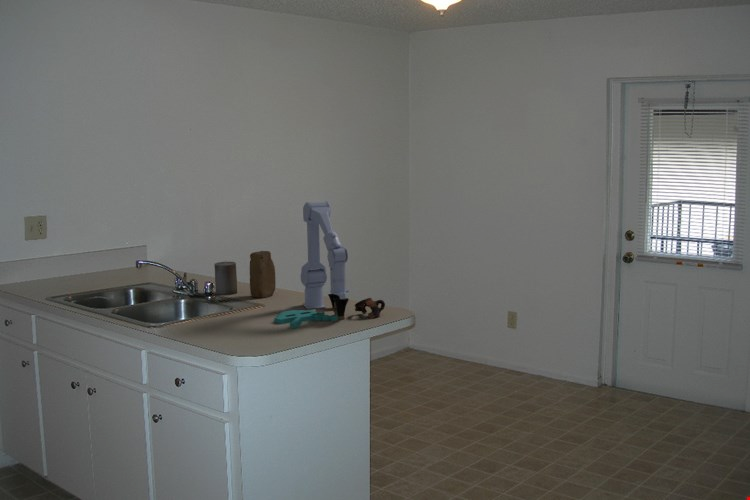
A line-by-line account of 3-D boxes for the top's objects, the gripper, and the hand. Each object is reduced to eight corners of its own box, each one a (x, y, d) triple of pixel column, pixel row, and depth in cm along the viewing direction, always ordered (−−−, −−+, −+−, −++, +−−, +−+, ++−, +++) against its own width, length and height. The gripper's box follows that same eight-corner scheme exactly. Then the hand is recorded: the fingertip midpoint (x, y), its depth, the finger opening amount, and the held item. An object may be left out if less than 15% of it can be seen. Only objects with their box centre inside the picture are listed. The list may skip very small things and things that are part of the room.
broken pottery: (364, 321, 294) (355, 302, 296) (358, 327, 303) (349, 308, 305) (391, 310, 299) (382, 291, 300) (385, 316, 307) (376, 297, 309)
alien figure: (337, 321, 295) (309, 312, 310) (337, 315, 295) (308, 307, 310) (293, 329, 283) (265, 320, 298) (292, 323, 282) (265, 314, 298)
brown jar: (259, 299, 336) (258, 253, 333) (248, 297, 340) (246, 252, 338) (278, 295, 344) (276, 250, 341) (266, 293, 349) (265, 249, 346)
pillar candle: (238, 290, 356) (236, 258, 354) (236, 294, 346) (235, 261, 344) (216, 291, 355) (214, 259, 353) (214, 295, 345) (212, 262, 343)
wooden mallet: (315, 319, 297) (315, 303, 296) (342, 317, 300) (341, 301, 299) (317, 321, 293) (317, 306, 292) (344, 319, 296) (344, 303, 295)
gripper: (352, 281, 290) (353, 317, 292) (343, 275, 303) (344, 309, 305) (334, 283, 288) (335, 318, 290) (326, 276, 301) (326, 310, 303)
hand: (338, 314), depth 297 cm, fingers open, 7 cm apart
